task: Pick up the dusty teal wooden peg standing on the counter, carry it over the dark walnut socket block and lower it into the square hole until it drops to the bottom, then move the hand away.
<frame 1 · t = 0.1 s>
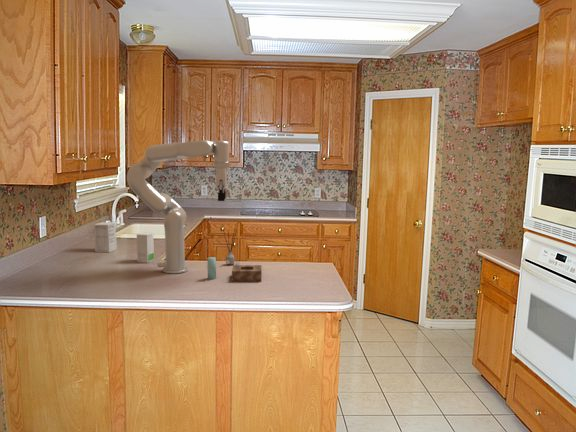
hand: (221, 199, 256), 37 cm above the countertop, tool pointing down, fingers open, 9 cm apart
reed diffuser: (232, 264, 275), on the countertop
peg: (211, 278, 246), on the countertop
skincare box: (145, 261, 281), on the countertop
socket block: (247, 278, 247), on the countertop
supplement box: (106, 251, 307), on the countertop
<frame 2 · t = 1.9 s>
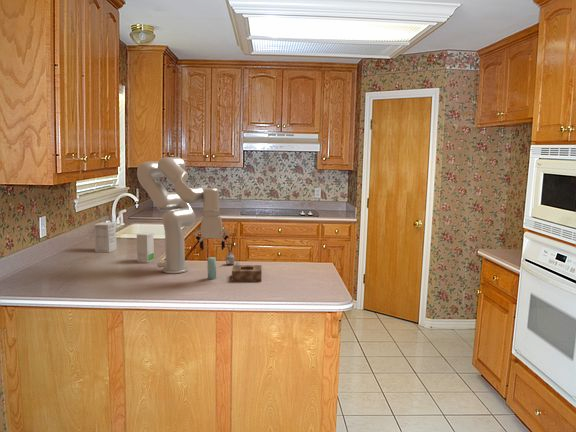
hand: (212, 249, 244), 14 cm above the countertop, tool pointing down, fingers open, 9 cm apart
nothing on the countertop moved.
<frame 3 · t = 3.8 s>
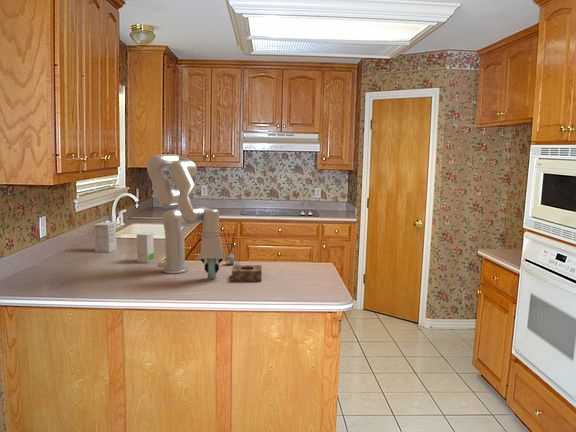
hand: (211, 271, 246), 3 cm above the countertop, tool pointing down, fingers closed on peg, 4 cm apart
peg: (211, 278, 246), on the countertop, touching gripper
everything else where it was.
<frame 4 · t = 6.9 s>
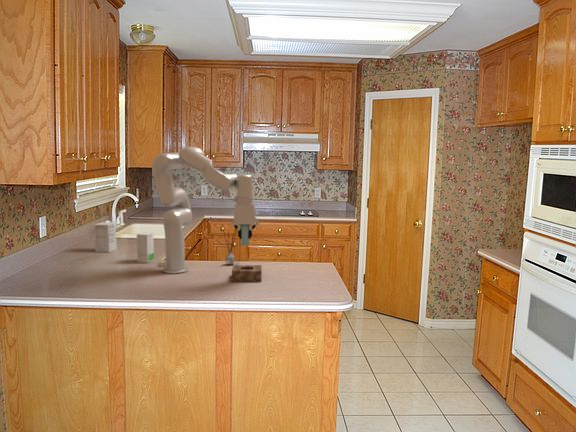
hand: (245, 238, 244), 20 cm above the countertop, tool pointing down, fingers closed on peg, 4 cm apart
peg: (245, 244, 245), point 17 cm above the countertop, touching gripper
everything else where it was.
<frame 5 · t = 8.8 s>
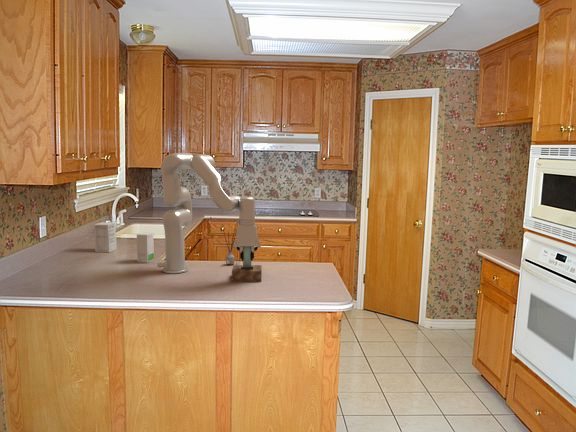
hand: (247, 259, 246), 9 cm above the countertop, tool pointing down, fingers closed on peg, 4 cm apart
peg: (247, 266, 246), point 6 cm above the countertop, touching gripper
everything else where it was.
when the fingers open (6 cm above the countertop, at t = 10.1 s): peg drops 3 cm, resting in socket block.
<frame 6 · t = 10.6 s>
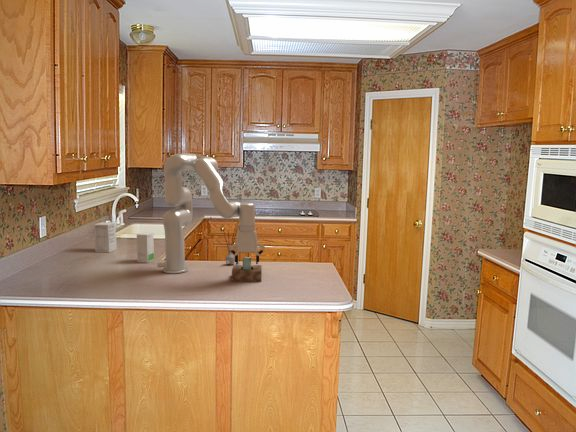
hand: (247, 263, 246), 7 cm above the countertop, tool pointing down, fingers open, 9 cm apart
peg: (246, 278, 247), resting in socket block
everything else where it was.
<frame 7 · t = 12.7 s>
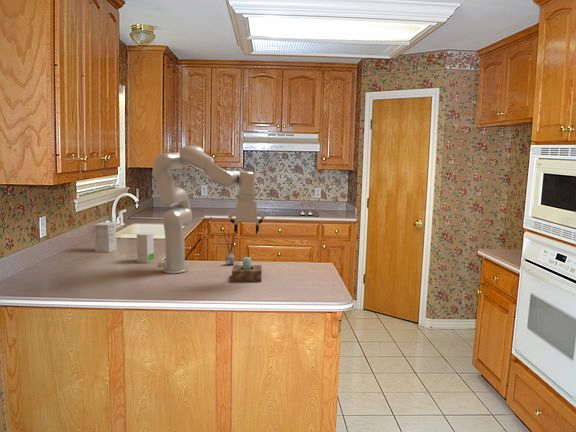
hand: (246, 232, 244), 22 cm above the countertop, tool pointing down, fingers open, 9 cm apart
nothing on the countertop moved.
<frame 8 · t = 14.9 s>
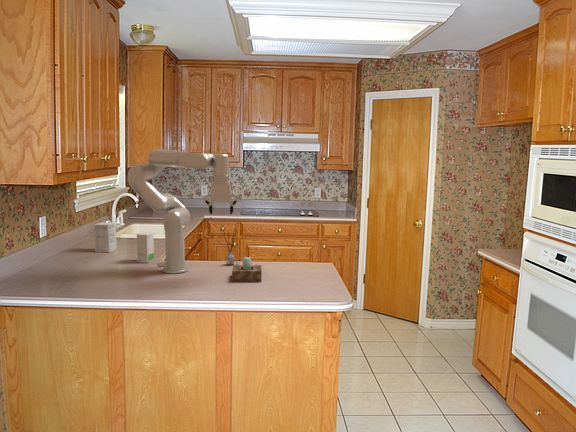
hand: (221, 213, 251), 30 cm above the countertop, tool pointing down, fingers open, 9 cm apart
nothing on the countertop moved.
at the end: peg 0.1 cm off-centre on the socket block, point 0.0 cm above the socket block's base; peg tilted 0°; the gripper is holding nothing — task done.
